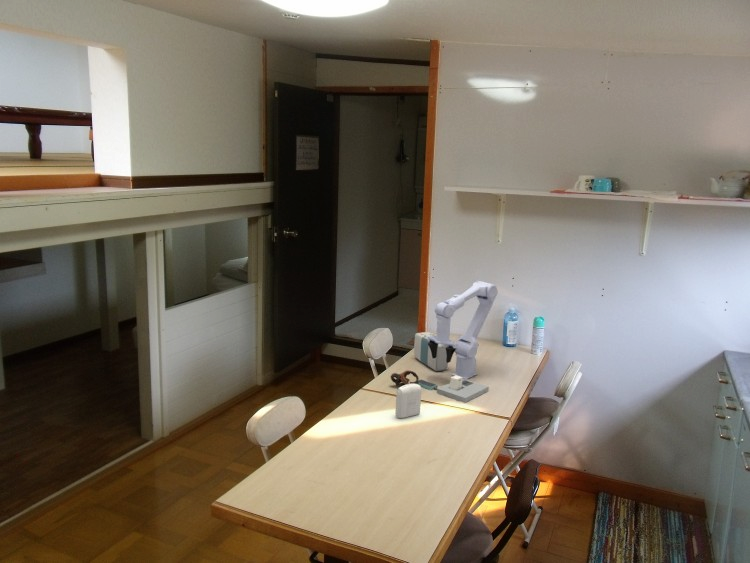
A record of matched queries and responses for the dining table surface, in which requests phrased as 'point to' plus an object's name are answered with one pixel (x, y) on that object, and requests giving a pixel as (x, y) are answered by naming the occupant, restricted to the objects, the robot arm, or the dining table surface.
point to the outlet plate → (464, 391)
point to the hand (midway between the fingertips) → (441, 360)
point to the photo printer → (408, 400)
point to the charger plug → (456, 383)
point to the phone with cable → (427, 385)
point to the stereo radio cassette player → (425, 355)
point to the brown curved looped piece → (404, 377)
